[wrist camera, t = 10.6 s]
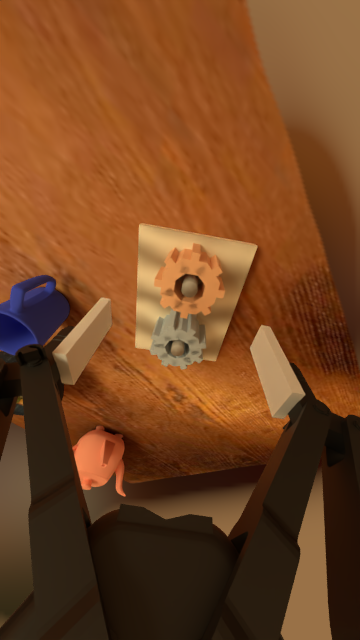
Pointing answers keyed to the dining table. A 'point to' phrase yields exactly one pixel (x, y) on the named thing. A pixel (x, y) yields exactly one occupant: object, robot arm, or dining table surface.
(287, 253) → the dining table surface
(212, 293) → the gear
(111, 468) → the teapot
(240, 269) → the board
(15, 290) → the mug
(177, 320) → the gear
